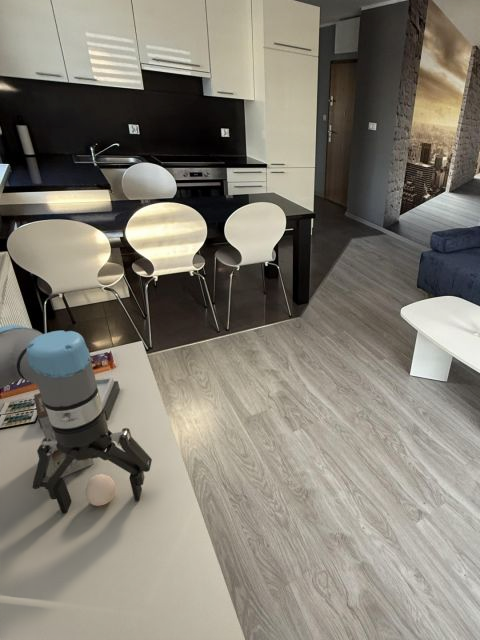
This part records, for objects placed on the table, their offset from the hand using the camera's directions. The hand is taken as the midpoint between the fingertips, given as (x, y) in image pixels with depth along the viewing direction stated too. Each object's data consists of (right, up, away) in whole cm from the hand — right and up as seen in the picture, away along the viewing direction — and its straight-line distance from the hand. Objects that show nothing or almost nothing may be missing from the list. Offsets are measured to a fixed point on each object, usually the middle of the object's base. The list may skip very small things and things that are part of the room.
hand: (103, 501), depth 78 cm
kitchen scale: (-20, +13, +22) cm, 32 cm away
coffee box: (-12, +5, +9) cm, 16 cm away
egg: (0, 0, 0) cm, 0 cm away
